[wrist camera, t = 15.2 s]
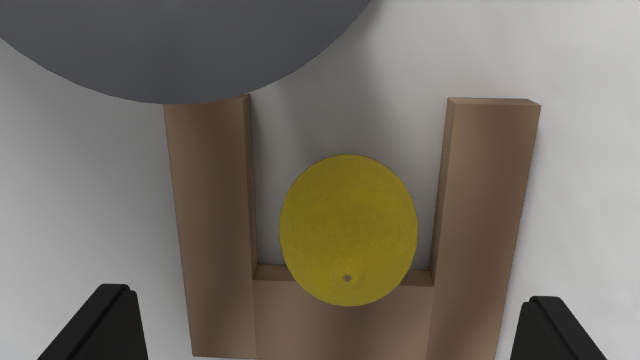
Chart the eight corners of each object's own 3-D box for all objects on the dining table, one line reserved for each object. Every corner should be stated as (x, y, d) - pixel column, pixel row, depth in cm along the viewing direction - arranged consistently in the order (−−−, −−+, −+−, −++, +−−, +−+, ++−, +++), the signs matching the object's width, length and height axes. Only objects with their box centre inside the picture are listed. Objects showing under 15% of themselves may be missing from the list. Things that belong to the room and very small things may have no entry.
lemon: (405, 133, 20) (439, 197, 13) (403, 239, 22) (431, 349, 15) (287, 136, 21) (254, 201, 13) (295, 240, 23) (269, 349, 15)
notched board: (201, 337, 25) (192, 356, 24) (175, 92, 20) (162, 98, 19) (483, 350, 24) (492, 370, 23) (527, 98, 20) (541, 105, 18)
